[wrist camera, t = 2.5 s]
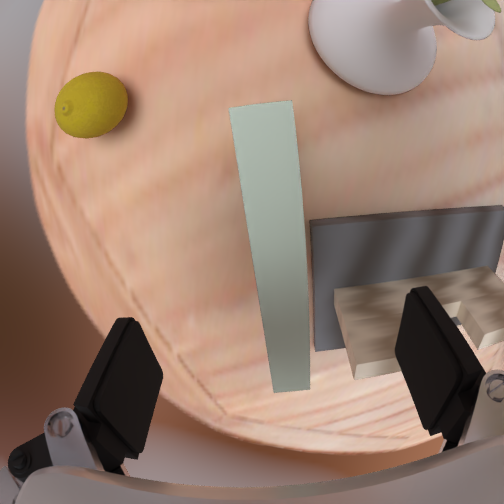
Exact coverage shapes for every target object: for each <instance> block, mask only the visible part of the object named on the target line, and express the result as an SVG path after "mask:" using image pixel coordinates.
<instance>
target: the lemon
mask: <svg viewBox="0 0 504 504" xmlns="http://www.w3.org/2000/svg"><path fill="white" fill-rule="evenodd" d="M127 105H128V96H127V92H126V89H125V87H124V85H123V84H122V83H121V81H120V80H119V79H118V78H116V77H114V76H113V75H111V74H108V73H104V72H89V73H85V74H82V75H80V76H77V77H75V78H73V79H72V80H71V81H69V82H68V83H67V84H66V85H65V86H64V87H63V88H62V89H61V91H60V92H59V94H58V96H57V99H56V103H55V118H56V121H57V123H58V125H59V126H60V128H61V129H62V130H63V131H64V132H65V133H67V134H69V135H71V136H73V137H78V138H93V137H98V136H101V135H103V134H105V133H107V132H109V131H111V130H112V129H113V128H114V127H116V126H117V125H118V123H119V122H120V121H121V120H122V118H123V116H124V114H125V112H126V109H127Z"/></svg>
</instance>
